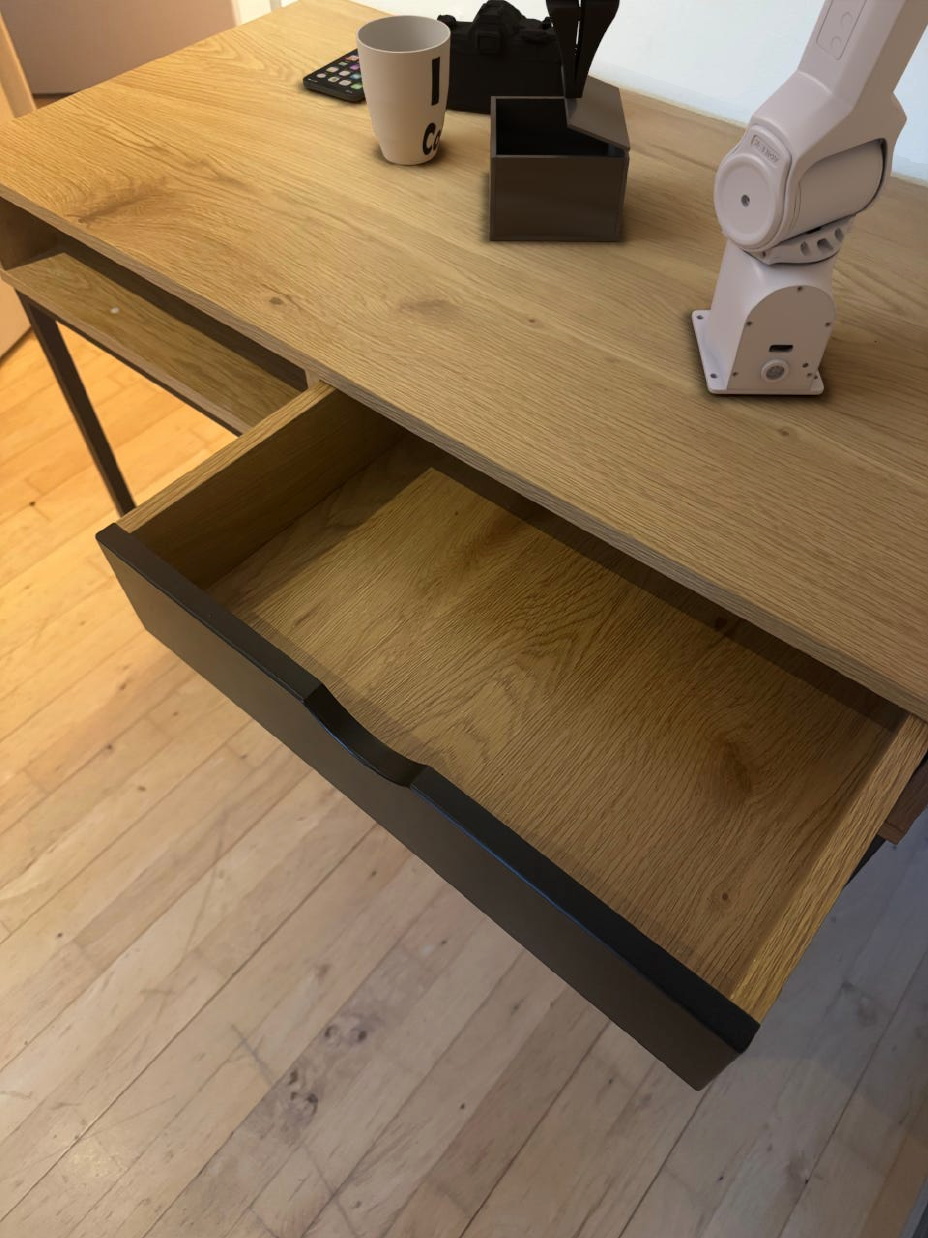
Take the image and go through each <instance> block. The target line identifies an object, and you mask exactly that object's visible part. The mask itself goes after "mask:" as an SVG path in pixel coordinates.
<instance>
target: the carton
mask: <svg viewBox="0 0 928 1238" xmlns="http://www.w3.org/2000/svg"><path fill="white" fill-rule="evenodd" d="M489 129H490V130H489V131H490V133H489V134H490V135H489V137H490V138H489V198H488V199H489V201H488V202H489V203H488V204H489V205H488V206H489V208H488V209H489V216H488V217H489V219H488V220H489V222H488V223H489V225H488V227H489V229H488V230H489V231H488V232H489V233H488V235H489V237H488V239H489V241H521V242H522V241H523V242H524V241H525V242H526V241H529V242H530V241H531V242H532V241H533V242H534V241H535V242H537V241H539V242H542V241H543V242H544V241H545V242H547V241H548V242H554V241H555V242H619V238H620V233H621V232H620V231H621V225H622V219H623V217H622V216H623V209H624V202H625V197H626V196H625V195H626V190H627V189H626V188H627V182H628V174H629V168H630V161H631V157H630V151H629V152H628V151H626V150H623V149H621V148H618V147H616V146H613V145H611V144H608V143H606V142H603V141H601V140H598V139H596V138H593V137H591V136H588V135H586V134H583V133H581V132H578V131H576V130H573V129H571V128H568V126H567V117H566V108H565V99H564V97H539V96H491V114H490V127H489Z"/></svg>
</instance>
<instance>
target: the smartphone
mask: <svg viewBox="0 0 928 1238" xmlns="http://www.w3.org/2000/svg"><path fill="white" fill-rule="evenodd" d="M302 85H303V86H304V87H305V88H306V89H307V88H308V89H310V90H314V91H317V92H320V93H322V94H326V95H329V96H330V95H331V96H334V97H336V98H339V99H343V100H346V101H351V102H358V101H360V100H362V99H364V98H366V97H365V93H364V89H363V83H362V76H361V69H360V62H359V55H358V48H357V47H356V48H355V49H352V50H351V51H349V52H347V53H345V54H344V55H342V56H340V57H338V58H336V59H334V60H333V61H330V62H329V63H327V64H325V65H323V66H322V67H320V68H318V69H316V70H314V71H312V72H310V73H308V74H307V75H305V76H303V77H302Z"/></svg>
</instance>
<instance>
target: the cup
mask: <svg viewBox="0 0 928 1238" xmlns="http://www.w3.org/2000/svg"><path fill="white" fill-rule="evenodd" d="M355 40H356V48H358V55H359V62H360V69H361V76H362V83H363V89H364V93H365V97H364V98H365V101H366V106H367V109H368V113H369V117H370V121H371V126H372V129H373V132H374V134H375V137H376V139H377V142H378V145H379V148H380V150H381V153H382V155H383V158H385V159H386V160H387V161H388V162H391V163H393V164H396V165H401V166H402V165H403V166H413V165H420V164H423V163H426V162H428V161H430V160H432V159H433V158H434V157H435V156H436V155H437V151H438V147H439V144H440V140H441V135H442V131H443V128H444V123H445V115H446V109H447V108H446V101H447V94H448V86H449V59H450V29H449V28H448V26H447V25H445V24H444V23H442V22H440V21H438V20H437V19H436V18H432V17H428V16H422V15H413V14H405V15H404V14H400V15H399V14H397V15H390V16H382V17H379V18H376V19H375V18H374V19H372V20H370V21H368V22H366V23H364V24H362V25H361V26H360V27H358V28H357V30H356V31H355Z"/></svg>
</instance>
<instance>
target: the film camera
mask: <svg viewBox="0 0 928 1238" xmlns="http://www.w3.org/2000/svg"><path fill="white" fill-rule="evenodd" d="M436 20H438V21H440V22H442V23H444V24H445V25H447V26H448V28H449V29H450V59H449V86H448V94H447V101H446V109H447V110H448V109H449V110H456V111H461V112H462V111H463V112H473V113H480V114H489V115H491V96H539V97H564V90H563V81H562V72H561V67H562V60H561V55H560V50H559V46H558V42H557V38H556V35H555V32H554V28H553V25H552V22H551V19H550V17H549V15H548V16H545V17H544V19H543V20H540V19H537V18H531V17H530V18H528V17H526V15H524V14H522V11H521V10H520V9H519V8H517V7H516V6H515V5H513V4H512V3H511V2H509V1H508V0H486V2H483V3H482V5H481V6H480V7H479V9H478V10H477V12H476V14H475V16H474V18H473V19H472V21H464V20H463V21H461V20H457V18H456V17H455V16H454V15H451V14H438V15H437V17H436ZM576 48H577V43H576ZM575 55H576V52H575Z"/></svg>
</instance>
